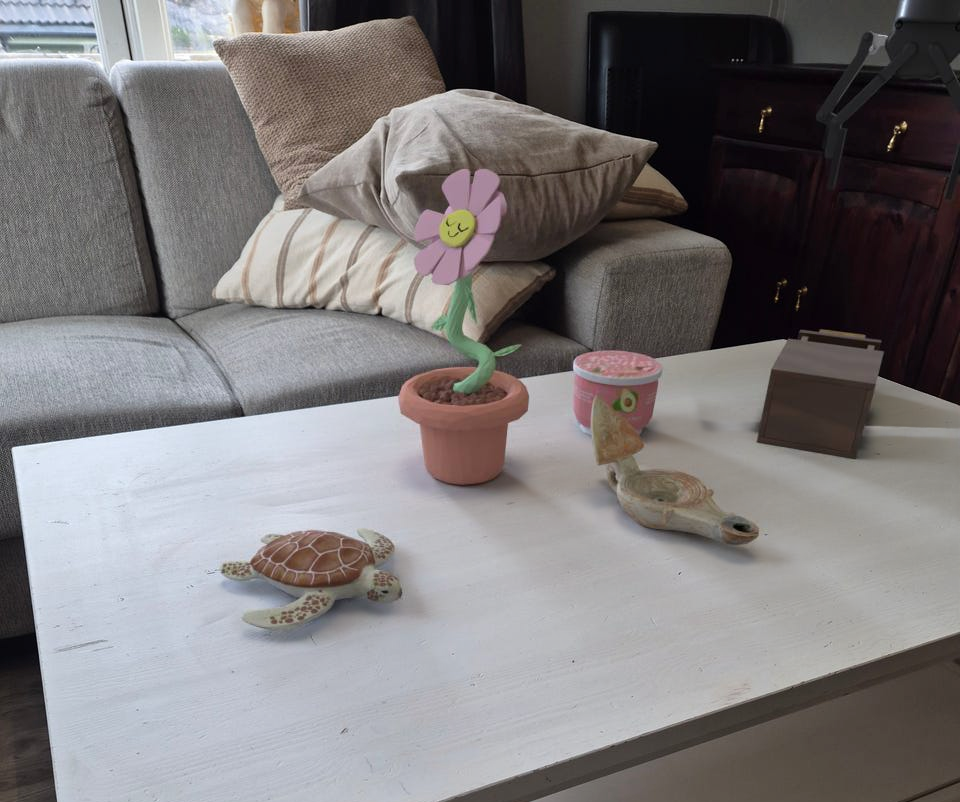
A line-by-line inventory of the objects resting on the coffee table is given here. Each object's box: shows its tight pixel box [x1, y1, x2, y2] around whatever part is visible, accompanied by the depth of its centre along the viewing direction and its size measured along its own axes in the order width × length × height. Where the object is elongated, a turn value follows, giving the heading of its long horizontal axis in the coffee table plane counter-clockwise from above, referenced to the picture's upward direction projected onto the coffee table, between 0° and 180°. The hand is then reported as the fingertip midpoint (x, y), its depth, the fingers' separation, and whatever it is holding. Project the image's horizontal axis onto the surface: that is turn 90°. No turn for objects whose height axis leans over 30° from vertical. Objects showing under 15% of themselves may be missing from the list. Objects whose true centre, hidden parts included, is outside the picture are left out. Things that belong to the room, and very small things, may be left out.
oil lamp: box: [590, 395, 760, 546], centre depth 90 cm, size 9×21×10 cm, turn 40°
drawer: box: [797, 328, 882, 351], centre depth 120 cm, size 19×10×7 cm, turn 156°
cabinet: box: [756, 338, 885, 460], centre depth 111 cm, size 13×11×9 cm
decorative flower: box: [397, 168, 530, 486], centre depth 93 cm, size 15×14×30 cm
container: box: [572, 350, 663, 436], centre depth 111 cm, size 10×10×8 cm
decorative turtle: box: [219, 527, 403, 631], centre depth 79 cm, size 18×17×5 cm
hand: (887, 193), depth 113 cm, fingers open, 13 cm apart
